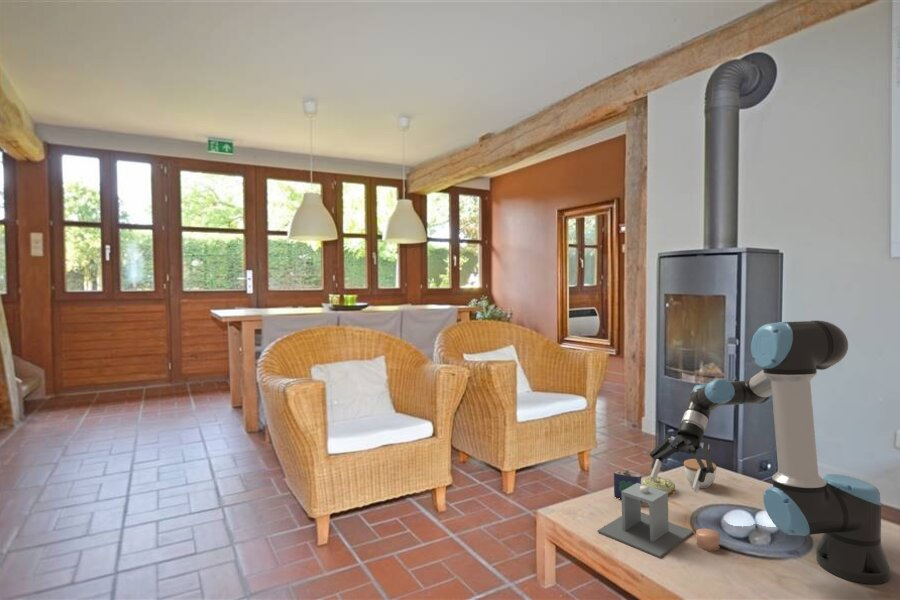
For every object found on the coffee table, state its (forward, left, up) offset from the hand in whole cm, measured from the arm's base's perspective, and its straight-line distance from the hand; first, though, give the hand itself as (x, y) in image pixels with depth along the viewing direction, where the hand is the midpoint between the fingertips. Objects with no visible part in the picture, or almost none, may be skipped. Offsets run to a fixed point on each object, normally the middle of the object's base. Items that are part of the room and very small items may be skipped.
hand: (673, 484), depth 163 cm
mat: (+1, +15, -11) cm, 19 cm away
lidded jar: (+5, -31, -11) cm, 33 cm away
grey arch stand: (+1, +15, -10) cm, 18 cm away
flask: (+17, -2, -11) cm, 21 cm away
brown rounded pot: (-15, +9, -11) cm, 20 cm away
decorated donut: (+13, -16, -11) cm, 24 cm away
